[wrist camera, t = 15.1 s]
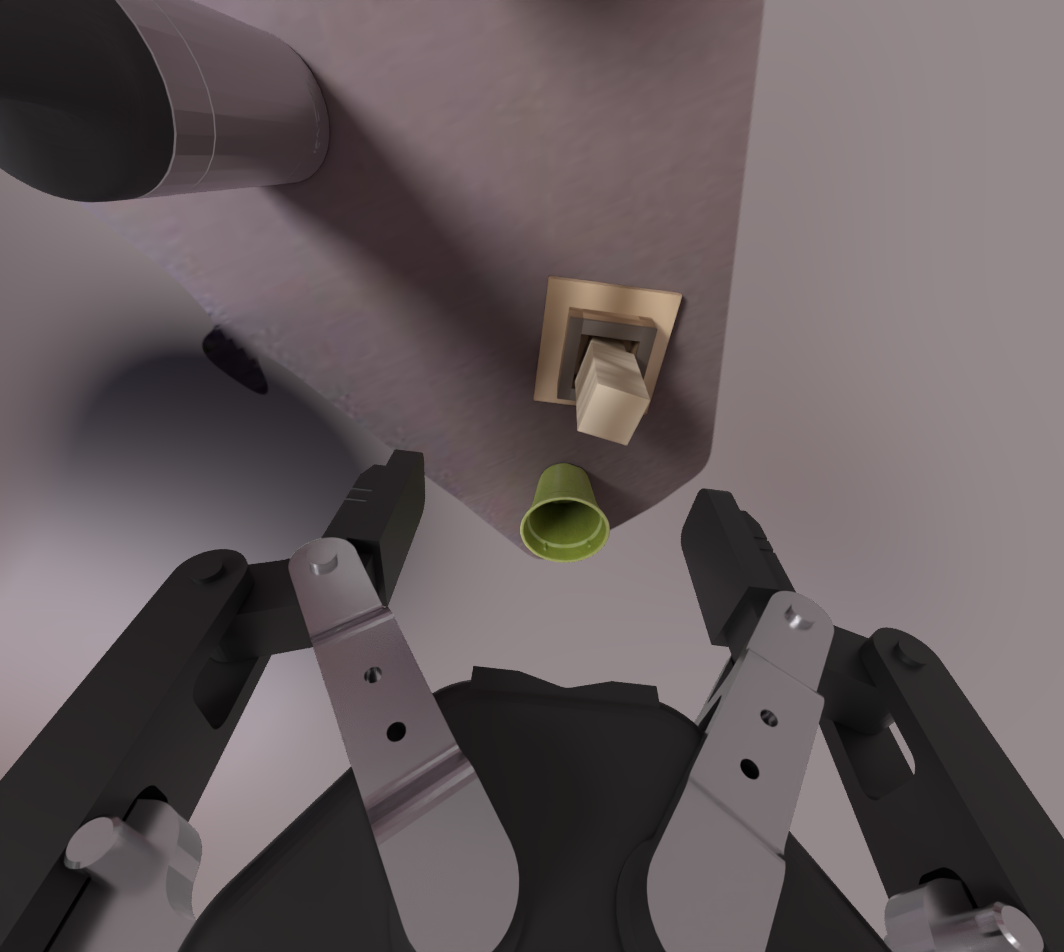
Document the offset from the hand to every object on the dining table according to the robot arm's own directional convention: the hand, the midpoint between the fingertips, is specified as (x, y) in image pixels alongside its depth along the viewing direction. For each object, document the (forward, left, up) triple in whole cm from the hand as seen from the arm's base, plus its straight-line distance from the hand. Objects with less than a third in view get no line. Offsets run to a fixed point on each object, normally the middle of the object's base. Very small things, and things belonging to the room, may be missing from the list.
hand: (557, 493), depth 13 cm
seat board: (+5, -7, -33) cm, 34 cm away
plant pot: (+4, -24, -33) cm, 41 cm away
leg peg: (+5, -7, -32) cm, 33 cm away
